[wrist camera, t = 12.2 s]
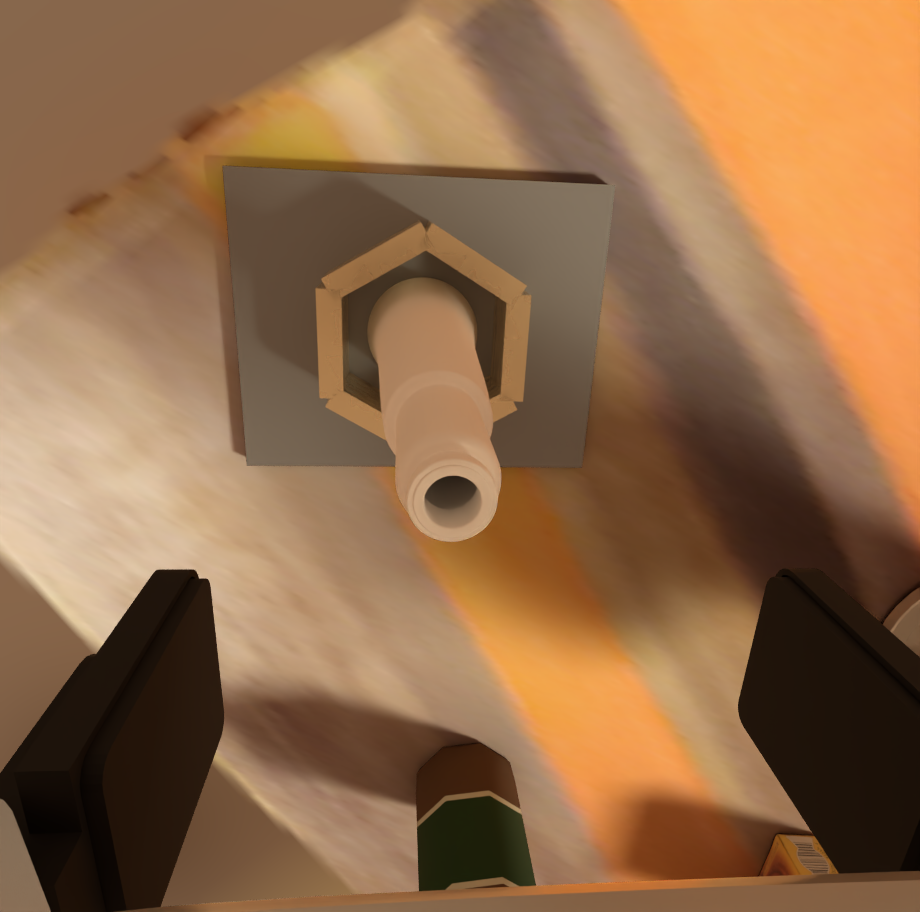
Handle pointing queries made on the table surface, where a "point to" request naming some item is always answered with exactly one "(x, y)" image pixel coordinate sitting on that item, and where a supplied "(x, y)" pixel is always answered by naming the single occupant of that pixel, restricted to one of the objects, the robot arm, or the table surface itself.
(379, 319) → the cosmetic bottle
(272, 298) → the slate board
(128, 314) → the table surface
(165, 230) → the table surface
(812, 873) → the candy box
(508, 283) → the wooden hex collar
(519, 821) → the beer bottle
